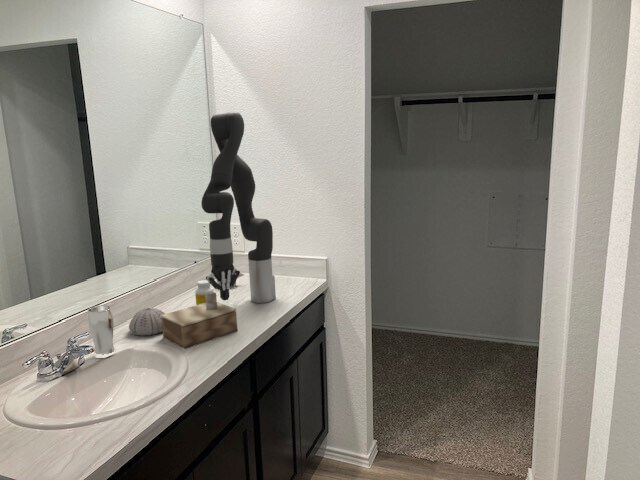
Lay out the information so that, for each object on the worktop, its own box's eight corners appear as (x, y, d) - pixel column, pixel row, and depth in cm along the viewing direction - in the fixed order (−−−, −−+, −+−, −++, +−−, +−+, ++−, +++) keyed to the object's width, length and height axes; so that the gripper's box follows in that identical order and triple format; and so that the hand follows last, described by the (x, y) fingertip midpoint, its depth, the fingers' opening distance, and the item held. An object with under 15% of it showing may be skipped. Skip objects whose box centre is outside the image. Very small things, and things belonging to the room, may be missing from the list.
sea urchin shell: (153, 340, 168) (150, 317, 167) (120, 336, 173) (117, 313, 172) (177, 326, 181) (175, 304, 179) (146, 322, 185) (144, 301, 184)
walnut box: (214, 321, 183) (213, 302, 182) (237, 330, 173) (236, 311, 172) (163, 337, 170) (161, 317, 168) (184, 348, 160) (182, 327, 158)
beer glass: (93, 361, 153) (87, 313, 150) (92, 353, 159) (86, 307, 156) (118, 356, 156) (112, 309, 153) (115, 348, 162) (110, 303, 159)
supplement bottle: (211, 318, 187) (208, 284, 185) (194, 317, 188) (191, 284, 186) (218, 312, 194) (215, 279, 191) (201, 311, 195) (199, 279, 192)
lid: (213, 302, 182) (212, 287, 181) (236, 310, 172) (234, 294, 171) (161, 316, 168) (159, 300, 167) (182, 326, 158) (181, 309, 157)
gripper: (231, 246, 181) (234, 293, 184) (198, 252, 172) (202, 302, 175) (243, 248, 175) (247, 297, 179) (210, 255, 166) (214, 306, 170)
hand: (225, 299), depth 177 cm, fingers closed
